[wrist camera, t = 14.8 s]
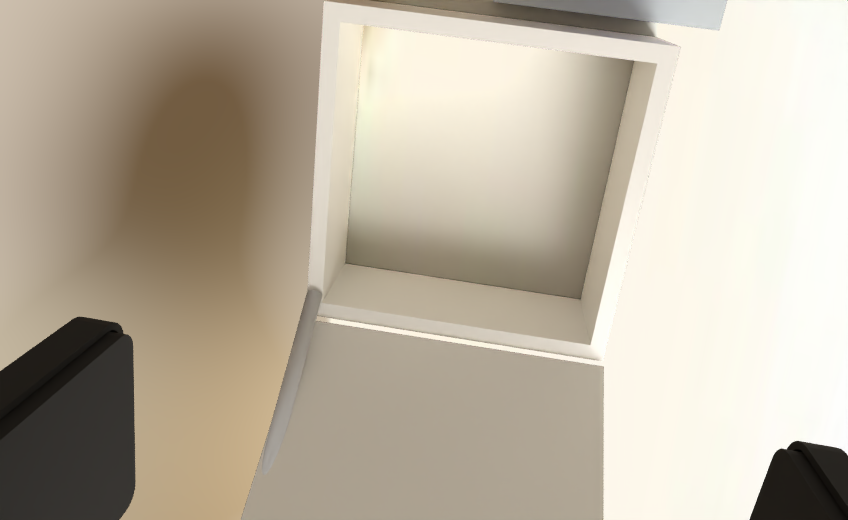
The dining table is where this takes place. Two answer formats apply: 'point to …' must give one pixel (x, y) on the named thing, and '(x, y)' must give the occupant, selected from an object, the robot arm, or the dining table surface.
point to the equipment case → (450, 328)
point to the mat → (642, 10)
